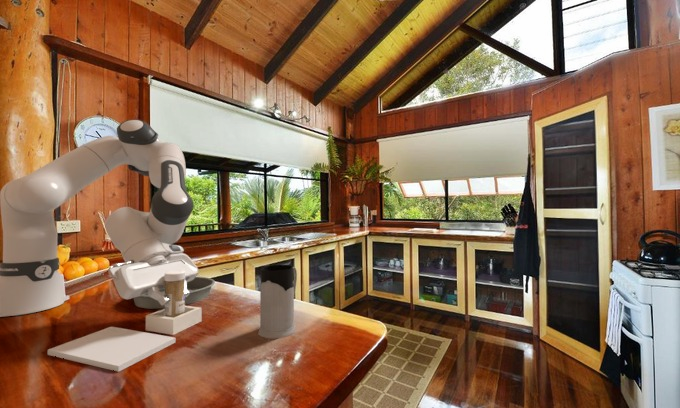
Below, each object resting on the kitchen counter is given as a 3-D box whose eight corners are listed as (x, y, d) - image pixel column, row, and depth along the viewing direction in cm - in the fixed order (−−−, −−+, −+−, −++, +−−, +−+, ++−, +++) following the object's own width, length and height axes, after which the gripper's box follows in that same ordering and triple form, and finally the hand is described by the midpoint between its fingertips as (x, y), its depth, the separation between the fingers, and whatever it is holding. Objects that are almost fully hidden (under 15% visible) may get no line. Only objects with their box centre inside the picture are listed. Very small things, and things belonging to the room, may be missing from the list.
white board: (47, 354, 58) (47, 349, 58) (111, 330, 69) (111, 326, 69) (118, 371, 52) (118, 366, 52) (175, 342, 63) (175, 337, 63)
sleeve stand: (145, 330, 69) (145, 315, 69) (176, 317, 78) (176, 304, 78) (173, 334, 67) (173, 319, 67) (201, 321, 75) (201, 307, 75)
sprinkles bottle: (185, 326, 72) (186, 272, 72) (164, 331, 69) (164, 274, 69) (184, 320, 75) (184, 269, 76) (163, 324, 73) (164, 271, 73)
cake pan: (192, 311, 83) (192, 295, 83) (107, 311, 83) (107, 295, 83) (226, 288, 108) (226, 275, 108) (160, 288, 108) (160, 276, 108)
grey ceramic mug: (250, 335, 66) (250, 270, 67) (281, 314, 80) (281, 259, 80) (284, 340, 64) (284, 272, 64) (310, 317, 77) (310, 261, 77)
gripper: (112, 256, 65) (143, 304, 62) (186, 245, 84) (213, 281, 81) (98, 274, 66) (128, 322, 63) (174, 260, 86) (200, 296, 82)
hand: (176, 299), depth 72 cm, fingers closed on sprinkles bottle, 4 cm apart
